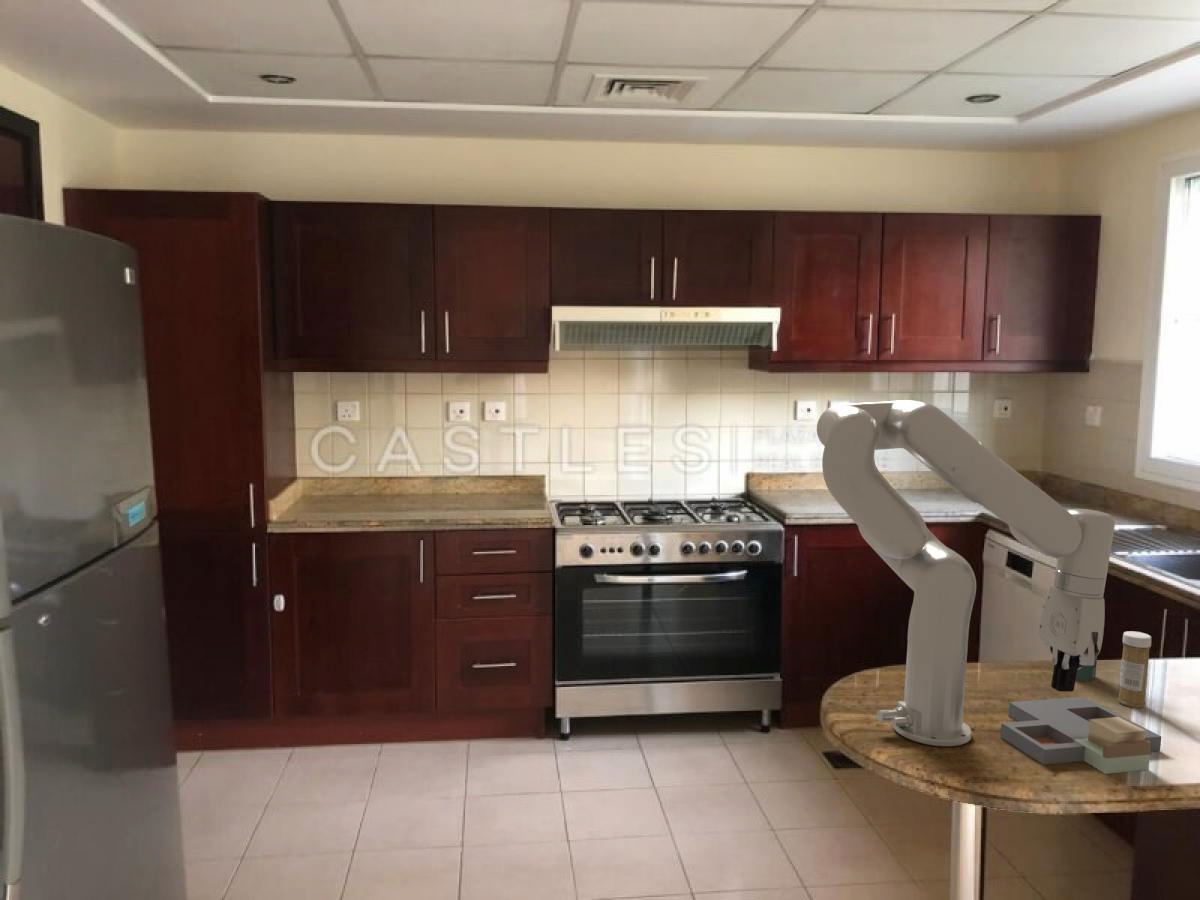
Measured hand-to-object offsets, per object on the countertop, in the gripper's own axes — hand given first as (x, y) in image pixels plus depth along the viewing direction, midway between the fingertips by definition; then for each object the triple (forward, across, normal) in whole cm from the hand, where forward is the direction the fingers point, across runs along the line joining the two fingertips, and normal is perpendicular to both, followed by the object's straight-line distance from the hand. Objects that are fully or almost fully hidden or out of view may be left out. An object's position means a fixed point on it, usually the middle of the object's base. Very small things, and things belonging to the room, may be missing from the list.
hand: (1062, 689), depth 155 cm
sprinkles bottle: (+7, -11, +25) cm, 28 cm away
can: (+7, -26, +26) cm, 37 cm away
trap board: (+8, +2, +2) cm, 9 cm away
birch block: (+6, +10, +3) cm, 12 cm away
